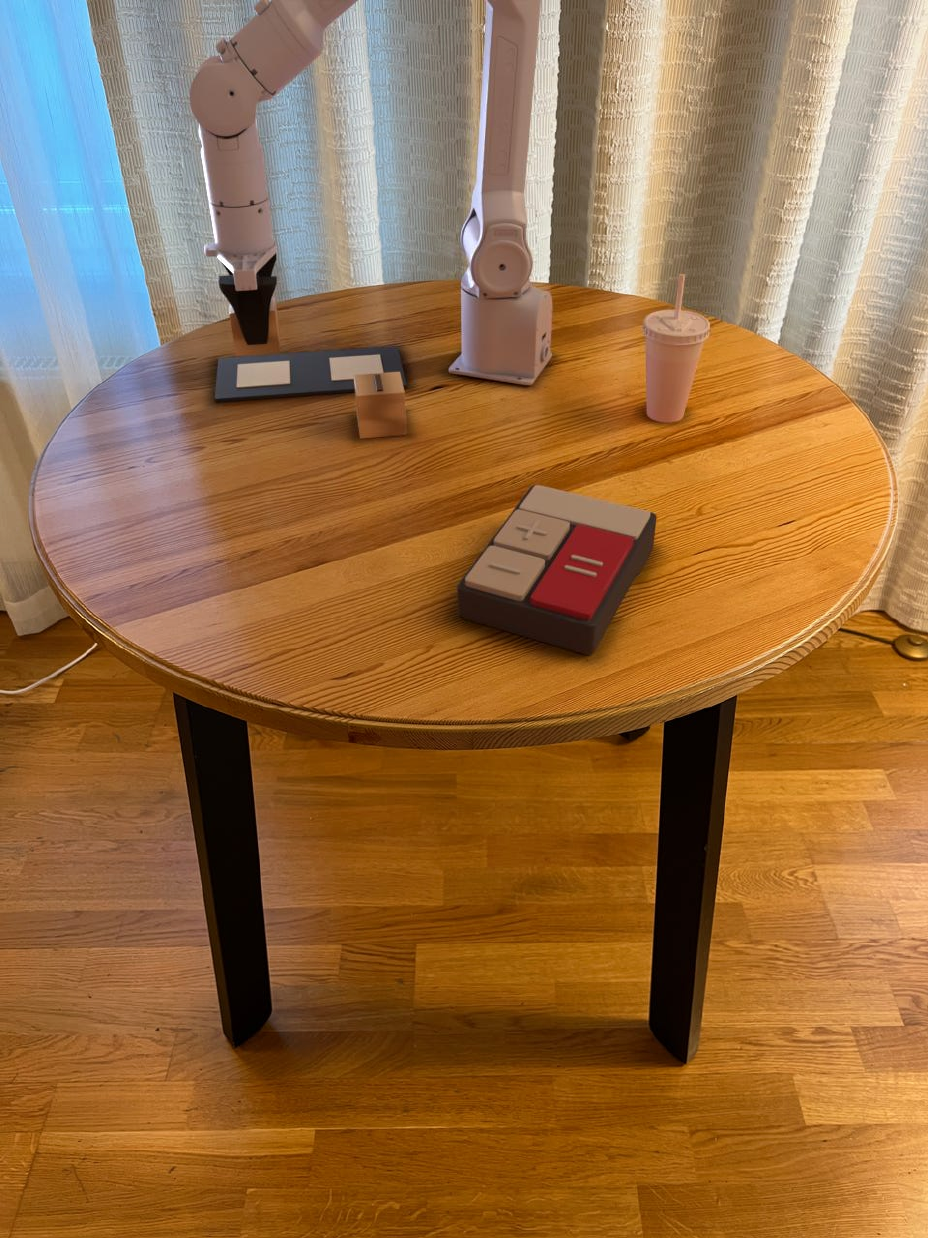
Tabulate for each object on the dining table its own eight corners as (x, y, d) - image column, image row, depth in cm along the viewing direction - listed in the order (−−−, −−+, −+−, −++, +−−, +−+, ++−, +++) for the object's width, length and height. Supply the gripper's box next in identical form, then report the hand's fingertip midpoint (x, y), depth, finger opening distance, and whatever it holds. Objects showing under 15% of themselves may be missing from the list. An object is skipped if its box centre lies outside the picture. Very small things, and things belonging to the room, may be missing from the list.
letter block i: (402, 413, 104) (399, 369, 101) (406, 435, 100) (404, 390, 97) (356, 416, 103) (353, 373, 100) (359, 438, 100) (356, 394, 97)
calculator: (454, 579, 75) (532, 475, 85) (456, 623, 78) (531, 517, 88) (594, 619, 72) (659, 505, 82) (591, 663, 74) (654, 548, 84)
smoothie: (694, 400, 105) (714, 265, 97) (699, 430, 100) (721, 290, 92) (632, 398, 106) (646, 263, 97) (633, 427, 101) (649, 288, 92)
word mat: (397, 348, 116) (397, 344, 115) (407, 388, 108) (406, 383, 108) (218, 361, 113) (218, 357, 113) (215, 402, 106) (214, 398, 105)
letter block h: (280, 335, 110) (274, 292, 107) (280, 353, 106) (275, 309, 103) (236, 338, 109) (230, 294, 106) (235, 356, 106) (228, 312, 103)
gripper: (200, 178, 104) (221, 308, 112) (192, 224, 92) (215, 364, 101) (270, 175, 104) (285, 304, 113) (270, 220, 93) (287, 360, 102)
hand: (257, 332), depth 107 cm, fingers closed on letter block h, 4 cm apart
